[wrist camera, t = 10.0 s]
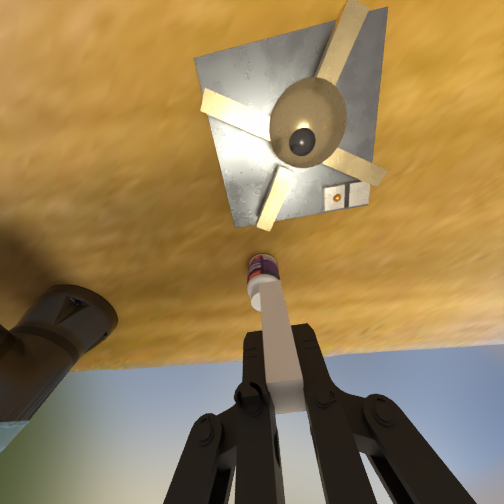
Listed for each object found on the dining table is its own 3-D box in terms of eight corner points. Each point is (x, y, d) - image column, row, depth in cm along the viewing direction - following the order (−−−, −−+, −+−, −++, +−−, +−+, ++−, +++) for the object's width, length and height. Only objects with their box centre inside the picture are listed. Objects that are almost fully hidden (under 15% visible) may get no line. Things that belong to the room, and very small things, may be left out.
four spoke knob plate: (326, 244, 31) (337, 259, 27) (189, 195, 27) (178, 204, 24) (434, 72, 21) (475, 56, 17) (238, -39, 17) (234, -93, 13)
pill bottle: (255, 248, 35) (256, 282, 26) (282, 259, 36) (290, 295, 27) (243, 270, 37) (240, 308, 29) (268, 280, 38) (272, 320, 30)
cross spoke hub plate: (236, 223, 32) (234, 231, 29) (198, 64, 23) (190, 52, 20) (361, 201, 30) (372, 207, 27) (377, 17, 21) (397, -4, 18)
